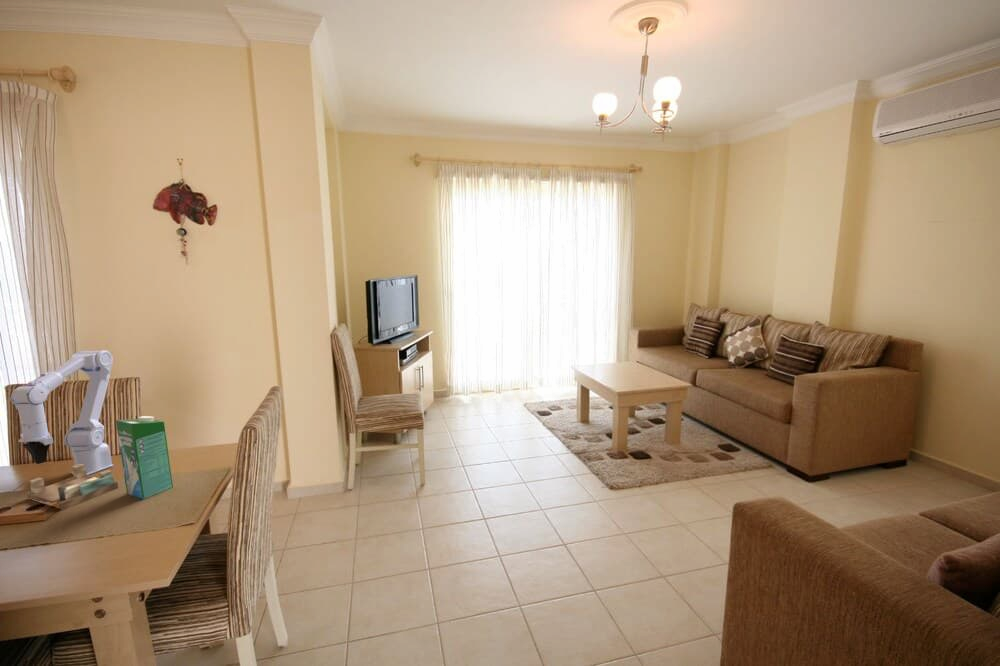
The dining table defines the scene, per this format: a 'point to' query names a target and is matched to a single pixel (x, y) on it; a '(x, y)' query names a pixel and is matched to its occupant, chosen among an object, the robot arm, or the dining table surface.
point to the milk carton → (144, 456)
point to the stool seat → (79, 473)
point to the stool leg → (72, 489)
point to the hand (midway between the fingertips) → (40, 462)
